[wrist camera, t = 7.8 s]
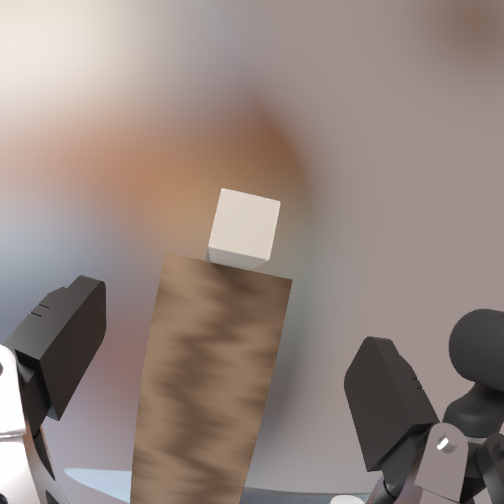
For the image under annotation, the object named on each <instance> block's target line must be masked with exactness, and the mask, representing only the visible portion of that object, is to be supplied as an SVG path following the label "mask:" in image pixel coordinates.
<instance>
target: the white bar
mask: <svg viewBox="0 0 504 504" xmlns="http://www.w3.org/2000/svg"><path fill="white" fill-rule="evenodd" d="M279 207H280V201H275V200H271V199H267V198H263V197H259V196H255V195H251V194H246V193H242V192H238V191H233V190H229V189H224V188H222V190H221V194H220V198H219V202H218V207H217V211H216V215H215V219H214V223H213V228H212V232H211V236H210V241H209V245H208V252H207V256H206V261H207V262H212V263H216V264H221V265H226V266H230V267H235V268H239V269H244V270H251V269H253V268H254V267H257V266H259V265H260V264H262V263H265V262H267V261H268V260H269V258H270V254H271V248H272V244H273V238H274V233H275V228H276V223H277V218H278V212H279Z"/></svg>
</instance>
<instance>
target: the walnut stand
mask: <svg viewBox="0 0 504 504" xmlns="http://www.w3.org/2000/svg"><path fill="white" fill-rule="evenodd" d="M291 284H292V280H291V279H286V278H281V277H276V276H272V275H267V274H263V273H258V272H253V271H249V270H244V269H239V268H235V267H230V266H226V265H221V264H216V263H212V262H207V261H203V260H198V259H194V258H189V257H185V256H180V255H176V254H171V253H167V252H166V255H165V259H164V264H163V268H162V273H161V278H160V282H159V287H158V292H157V296H156V301H155V306H154V312H153V318H152V322H151V328H150V334H149V339H148V345H147V351H146V357H145V363H144V369H143V376H142V383H141V390H140V398H139V406H138V413H137V422H136V431H135V441H134V452H133V464H132V478H131V496H130V504H239V502H240V499H241V495H242V492H243V488H244V484H245V481H246V477H247V473H248V470H249V466H250V462H251V459H252V455H253V451H254V447H255V444H256V439H257V436H258V431H259V428H260V424H261V420H262V416H263V412H264V408H265V404H266V399H267V395H268V391H269V386H270V382H271V378H272V374H273V369H274V365H275V361H276V356H277V352H278V347H279V342H280V338H281V333H282V328H283V323H284V319H285V314H286V309H287V304H288V299H289V294H290V289H291Z"/></svg>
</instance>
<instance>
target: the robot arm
mask: <svg viewBox="0 0 504 504" xmlns="http://www.w3.org/2000/svg"><path fill="white" fill-rule="evenodd" d="M105 331H106V288H105V283H104V282H103V281H100V280H96V279H93V278H89V277H86V276H82V275H81V276H79V277H78V278H77V279H76V280H75V281H74V282H73V283H72V284H71V285H70V286H69V287H68V288H64V287H61V288H59V289H57V290H55V291H53V292H51V293H49V294H48V295H47V296H46V297H45V298H44V299H43V300H42V301H41V302H40V303H39V306H36V307H35V308H34V309H33V310H32V311H31V314H29V315H28V316H27V317H26V318H25V319H24V320H23V321H22V322H21V323H20V324H19V326H18V327H17V328H16V329H15V330H14V331H13V332H12V333H11V334H10V336H9V337H8V338H7V339H6V340H5V341H4V343H3V344H2V345H0V504H70V503H69V501H68V500H67V498H66V496H65V494H64V492H63V490H62V488H61V485H60V483H59V481H58V478H57V475H56V472H55V469H54V466H53V463H52V460H51V456H50V453H49V450H48V447H47V444H46V440H45V436H44V432H43V429H42V425H41V424H42V423H43V421H44V419H45V417H46V416H48V417H50V418H52V419H55V420H57V421H59V420H60V418H61V417H62V415H63V413H64V410H65V409H66V407H67V405H68V403H69V401H70V399H71V397H72V395H73V393H74V391H75V390H76V388H77V386H78V384H79V382H80V380H81V378H82V377H83V375H84V373H85V371H86V369H87V368H88V366H89V364H90V362H91V361H92V359H93V357H94V355H95V354H96V352H97V350H98V348H99V347H100V345H101V343H102V341H103V339H104V335H105ZM449 355H450V359H451V362H452V364H453V366H454V368H455V369H456V371H457V372H458V373H459V374H460V375H461V376H462V377H463V378H465V379H467V380H470V381H473V382H475V384H474V386H473V388H472V389H471V390H470V391H469V392H468V393H467V394H465V395H464V396H463V397H461V398H459V399H457V400H455V401H453V402H452V403H451V404H450V405H449V406H448V407H447V409H446V412H445V414H444V417H443V421H442V423H440V421H439V419H438V417H437V415H436V413H435V411H434V409H433V407H432V405H431V403H430V401H429V399H428V397H427V395H426V393H425V392H424V390H422V386H421V384H420V382H419V380H417V376H416V375H415V372H414V371H413V369H412V367H411V366H410V365H409V364H408V362H407V361H405V360H404V359H403V357H402V356H400V355H399V353H398V351H397V349H396V347H395V346H394V344H393V342H392V341H391V340H390V339H386V338H378V337H370V336H369V337H367V338H366V339H365V340H364V341H363V343H362V345H361V346H360V349H359V350H358V352H357V354H356V356H355V358H354V360H353V361H352V363H351V365H350V367H349V368H348V370H347V372H346V375H345V379H344V389H345V393H346V397H347V400H348V403H349V407H350V410H351V414H352V418H353V421H354V425H355V428H356V432H357V435H358V439H359V443H360V446H361V450H362V454H363V458H364V461H365V465H366V469H367V472H370V471H380V470H382V472H383V476H382V477H381V478H380V479H379V480H378V482H377V484H376V486H375V488H374V490H373V492H372V494H371V495H370V497H369V499H368V501H367V503H366V504H475V502H474V500H473V497H474V496H475V495H477V494H478V493H479V492H481V491H482V490H483V489H485V488H486V487H487V489H488V492H489V495H490V498H491V501H492V503H493V504H504V435H502V434H500V433H499V431H500V429H501V426H502V424H503V422H504V312H501V311H495V310H491V309H478V310H474V311H472V312H469V313H468V314H466V315H464V316H463V317H462V318H461V319H460V320H459V321H458V322H457V324H456V325H455V326H454V329H453V330H452V332H451V335H450V339H449Z"/></svg>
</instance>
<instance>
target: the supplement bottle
mask: <svg viewBox="0 0 504 504" xmlns="http://www.w3.org/2000/svg"><path fill="white" fill-rule="evenodd" d="M330 504H365V503H364V502H363V501H362V500H361V499H360V498H357V497H355V496H351V495H339V496H336V497H334V498H333V499H332V500H331V502H330Z"/></svg>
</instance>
